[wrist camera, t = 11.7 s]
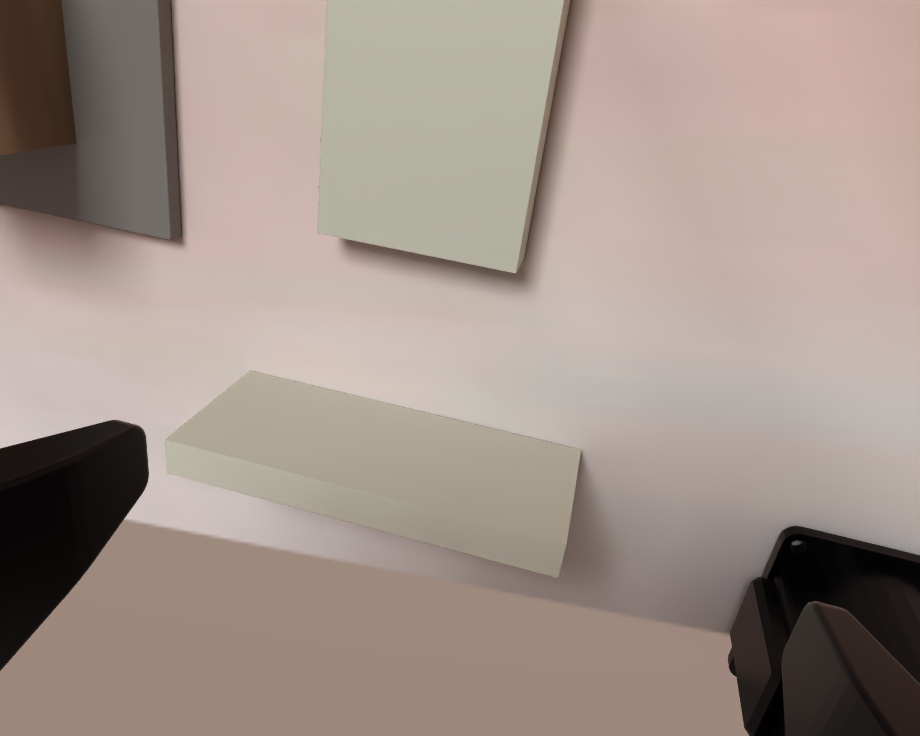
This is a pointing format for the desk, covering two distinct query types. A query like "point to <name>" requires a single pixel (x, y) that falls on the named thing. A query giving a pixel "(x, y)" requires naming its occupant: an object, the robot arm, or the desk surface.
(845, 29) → the desk surface
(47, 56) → the walnut block
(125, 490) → the robot arm
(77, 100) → the rubber mat
